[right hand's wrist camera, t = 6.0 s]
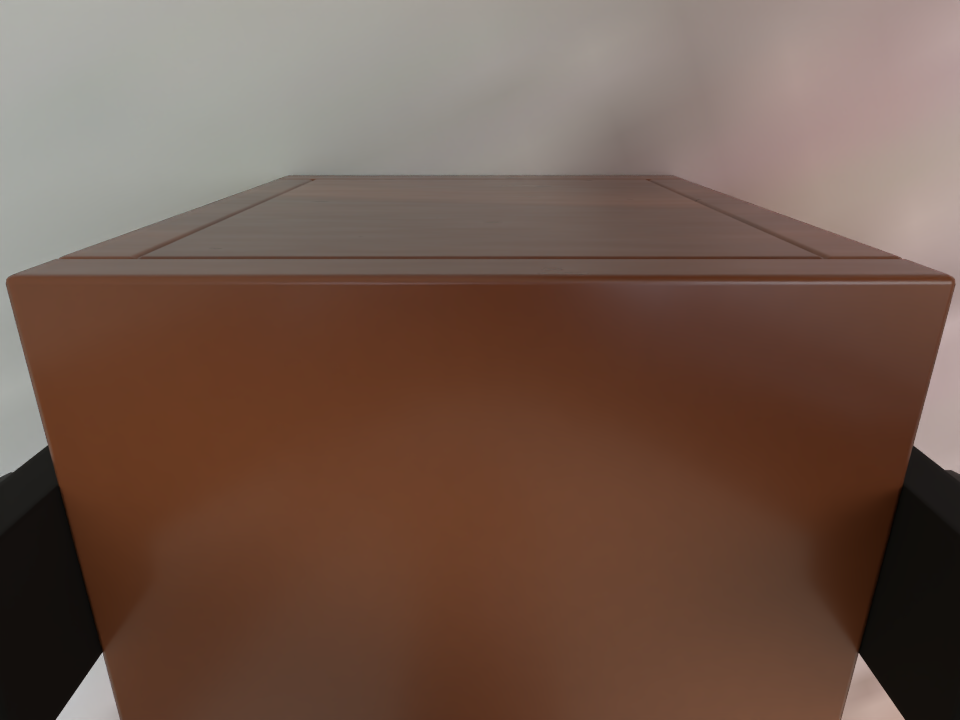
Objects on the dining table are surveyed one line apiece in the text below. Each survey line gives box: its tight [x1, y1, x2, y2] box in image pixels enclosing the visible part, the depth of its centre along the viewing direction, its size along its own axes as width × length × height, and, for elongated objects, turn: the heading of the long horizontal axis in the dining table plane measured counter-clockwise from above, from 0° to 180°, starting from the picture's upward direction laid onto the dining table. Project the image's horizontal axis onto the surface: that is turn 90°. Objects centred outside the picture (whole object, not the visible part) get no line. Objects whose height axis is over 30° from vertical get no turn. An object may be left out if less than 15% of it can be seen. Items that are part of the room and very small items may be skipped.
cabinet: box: [6, 176, 955, 720], centre depth 16 cm, size 20×11×12 cm, turn 0°
